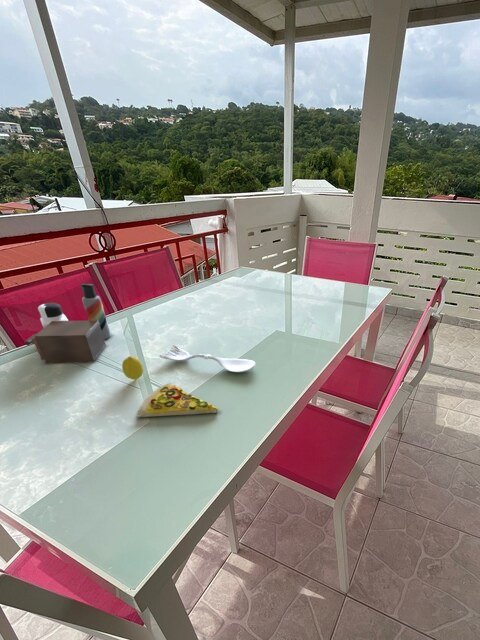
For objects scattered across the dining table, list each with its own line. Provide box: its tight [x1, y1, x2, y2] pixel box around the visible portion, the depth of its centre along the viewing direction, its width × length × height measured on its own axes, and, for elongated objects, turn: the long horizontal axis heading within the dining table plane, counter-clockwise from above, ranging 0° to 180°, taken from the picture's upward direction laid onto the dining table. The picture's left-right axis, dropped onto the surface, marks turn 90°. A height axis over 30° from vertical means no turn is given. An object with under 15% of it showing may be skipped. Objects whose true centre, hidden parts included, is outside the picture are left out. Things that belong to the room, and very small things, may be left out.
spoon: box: [158, 344, 256, 373], centre depth 111 cm, size 9×32×4 cm, turn 77°
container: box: [37, 302, 69, 329], centre depth 119 cm, size 8×8×13 cm
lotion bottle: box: [80, 283, 112, 340], centre depth 120 cm, size 6×6×20 cm
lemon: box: [121, 355, 144, 381], centre depth 100 cm, size 6×6×8 cm
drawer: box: [24, 333, 45, 361], centre depth 110 cm, size 18×11×8 cm, turn 100°
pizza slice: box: [137, 382, 219, 418], centre depth 91 cm, size 16×21×3 cm
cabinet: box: [34, 320, 107, 364], centre depth 111 cm, size 15×13×10 cm
